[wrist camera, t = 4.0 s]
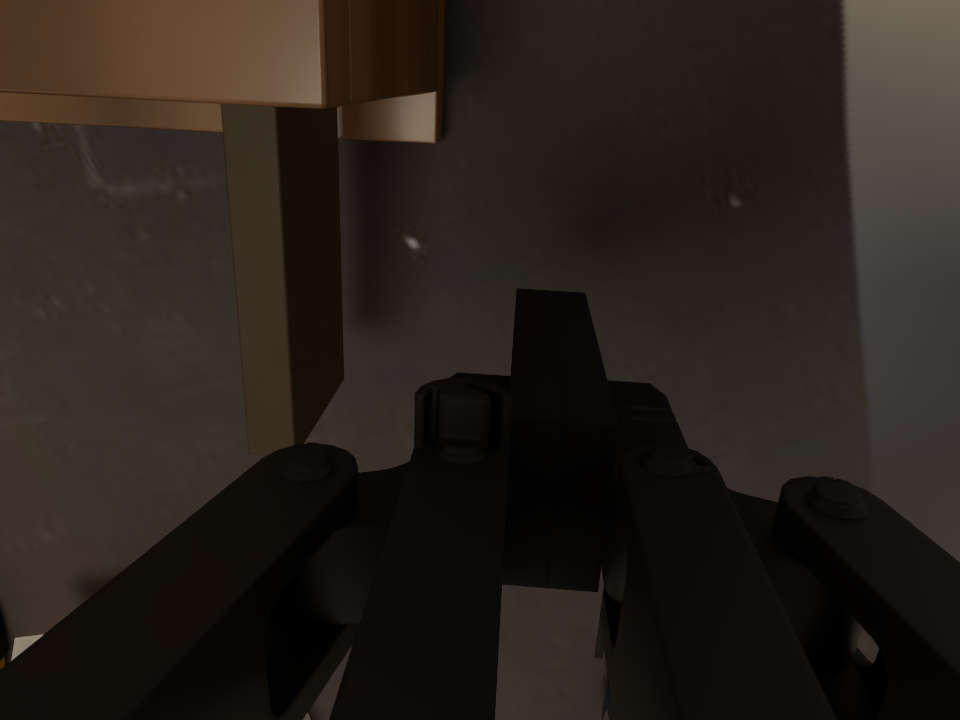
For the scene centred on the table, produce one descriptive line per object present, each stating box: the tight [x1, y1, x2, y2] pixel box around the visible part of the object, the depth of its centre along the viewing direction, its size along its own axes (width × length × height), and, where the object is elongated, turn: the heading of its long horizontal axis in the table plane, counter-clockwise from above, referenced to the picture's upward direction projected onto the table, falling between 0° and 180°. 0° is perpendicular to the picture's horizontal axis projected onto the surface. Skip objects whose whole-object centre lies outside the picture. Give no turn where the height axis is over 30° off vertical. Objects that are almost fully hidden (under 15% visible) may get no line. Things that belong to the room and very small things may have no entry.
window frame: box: [0, 0, 445, 144], centre depth 16 cm, size 18×6×14 cm, turn 87°
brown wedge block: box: [221, 104, 344, 455], centre depth 18 cm, size 7×10×10 cm
